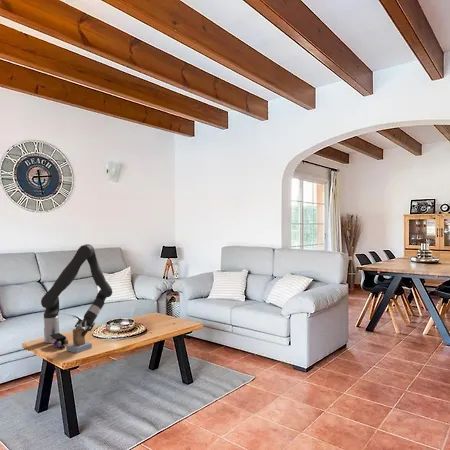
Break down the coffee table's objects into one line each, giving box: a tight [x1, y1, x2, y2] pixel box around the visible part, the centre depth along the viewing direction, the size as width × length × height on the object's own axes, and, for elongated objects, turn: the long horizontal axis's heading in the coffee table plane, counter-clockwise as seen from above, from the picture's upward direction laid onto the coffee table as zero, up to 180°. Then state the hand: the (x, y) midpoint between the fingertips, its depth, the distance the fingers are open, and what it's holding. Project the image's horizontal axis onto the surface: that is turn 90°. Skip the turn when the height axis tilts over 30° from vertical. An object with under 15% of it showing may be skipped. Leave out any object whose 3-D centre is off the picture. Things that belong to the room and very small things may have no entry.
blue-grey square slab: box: [65, 341, 93, 354], centre depth 246 cm, size 11×11×3 cm
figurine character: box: [50, 332, 69, 350], centre depth 253 cm, size 7×8×15 cm
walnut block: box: [72, 327, 86, 346], centre depth 246 cm, size 5×5×10 cm
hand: (78, 335), depth 246 cm, fingers open, 8 cm apart
